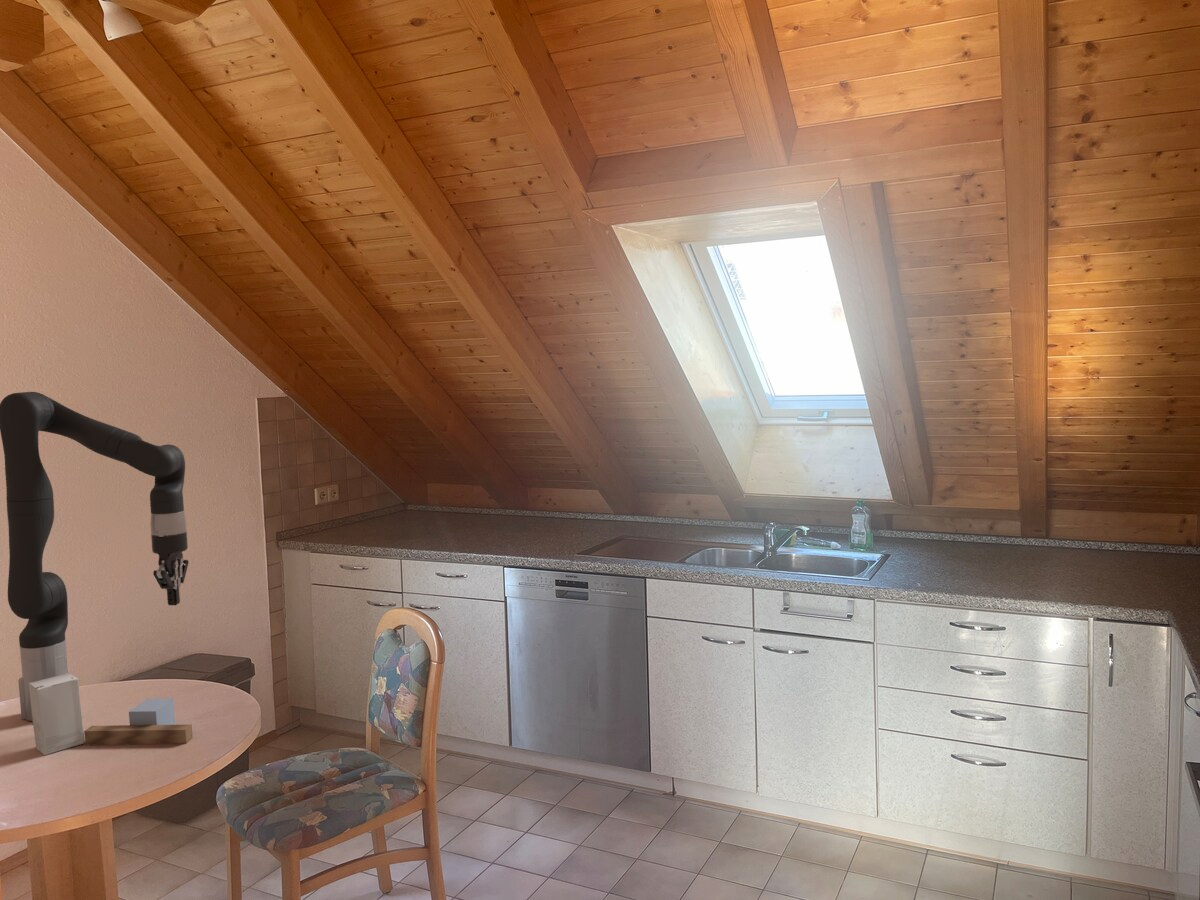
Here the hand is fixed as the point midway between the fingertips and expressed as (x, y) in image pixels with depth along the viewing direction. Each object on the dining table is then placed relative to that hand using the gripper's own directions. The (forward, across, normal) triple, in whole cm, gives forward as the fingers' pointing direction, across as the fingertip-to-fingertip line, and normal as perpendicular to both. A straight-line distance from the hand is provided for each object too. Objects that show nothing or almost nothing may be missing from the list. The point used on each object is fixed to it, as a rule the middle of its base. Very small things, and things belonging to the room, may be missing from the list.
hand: (173, 604), depth 225 cm
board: (+25, +20, 0) cm, 32 cm away
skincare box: (+25, +22, -16) cm, 37 cm away
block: (+25, +14, 0) cm, 29 cm away
